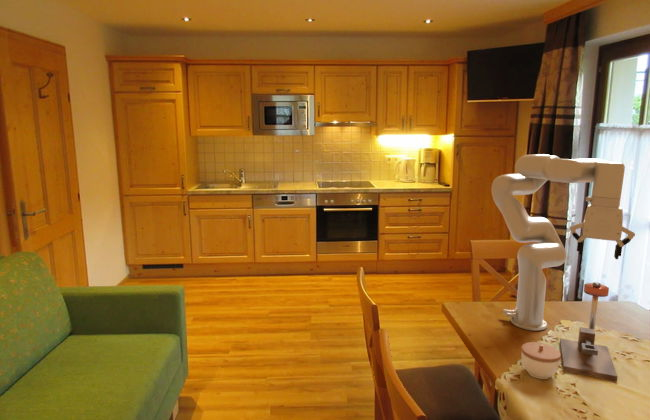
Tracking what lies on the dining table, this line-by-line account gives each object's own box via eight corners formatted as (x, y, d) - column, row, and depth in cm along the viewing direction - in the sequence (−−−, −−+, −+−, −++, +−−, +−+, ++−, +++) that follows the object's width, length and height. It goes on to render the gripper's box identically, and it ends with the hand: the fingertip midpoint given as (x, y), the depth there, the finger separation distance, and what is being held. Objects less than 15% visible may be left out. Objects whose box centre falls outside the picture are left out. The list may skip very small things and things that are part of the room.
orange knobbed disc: (580, 330, 136) (585, 285, 133) (578, 322, 142) (583, 278, 139) (605, 334, 133) (610, 288, 131) (602, 326, 139) (607, 281, 136)
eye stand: (563, 370, 137) (566, 345, 136) (559, 342, 155) (562, 319, 154) (617, 381, 132) (620, 354, 130) (606, 350, 150) (609, 326, 148)
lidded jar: (556, 387, 128) (559, 357, 127) (516, 376, 134) (519, 347, 132) (560, 370, 137) (563, 342, 136) (522, 361, 143) (524, 334, 141)
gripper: (573, 201, 136) (567, 255, 140) (641, 206, 129) (632, 263, 132) (572, 197, 143) (566, 249, 146) (637, 202, 135) (629, 256, 139)
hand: (597, 255), depth 139 cm, fingers open, 9 cm apart
